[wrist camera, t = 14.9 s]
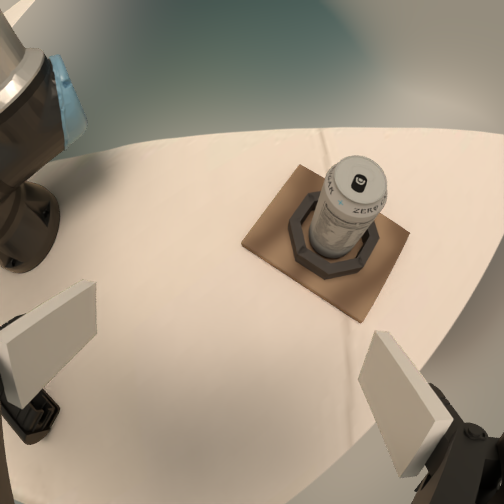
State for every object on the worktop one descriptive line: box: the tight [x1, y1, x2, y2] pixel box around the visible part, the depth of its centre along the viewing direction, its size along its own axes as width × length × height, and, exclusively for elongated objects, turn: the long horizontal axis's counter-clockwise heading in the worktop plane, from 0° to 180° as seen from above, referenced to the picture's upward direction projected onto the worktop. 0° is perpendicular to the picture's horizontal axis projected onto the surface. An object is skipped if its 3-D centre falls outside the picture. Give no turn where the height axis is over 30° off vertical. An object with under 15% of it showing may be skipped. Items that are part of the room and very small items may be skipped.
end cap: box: [0, 388, 60, 445], centre depth 33 cm, size 10×7×7 cm
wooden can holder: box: [241, 165, 410, 323], centre depth 40 cm, size 18×14×4 cm
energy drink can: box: [308, 156, 387, 258], centre depth 33 cm, size 6×6×15 cm
